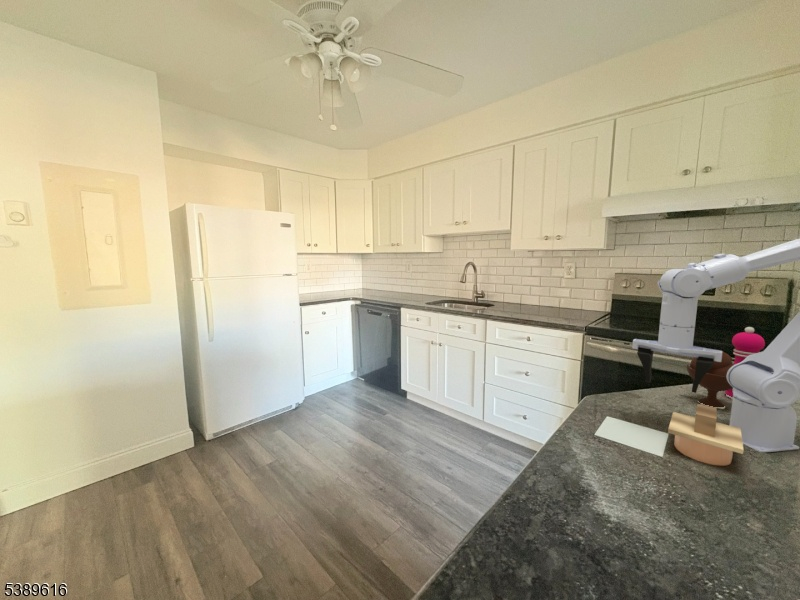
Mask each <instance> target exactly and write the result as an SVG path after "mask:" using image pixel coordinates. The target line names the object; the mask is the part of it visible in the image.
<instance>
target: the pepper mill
mask: <svg viewBox="0 0 800 600" xmlns="http://www.w3.org/2000/svg"><path fill="white" fill-rule="evenodd" d="M754 332H755V328H754V327H752V326H747V327H745V328H744V331H743V332H738V333H736V334H735V335H733V337H732V339H731V343H732V345H733V347H734V349H733V352H732V353H733V355H734V361H733V363H732V364H733V365H735V364H738V363H740V362H742V361H743V360H744V359H745V358H746V357H747V356H749V355H752V354H756V353H759V352H761V350H763V349H764V348H765V346H766V342H765V339H764V338H763V337H762V336H761V335H759V334H758V333H754ZM732 391H733V389H730V390H726V391H724V394H725V393H726V394H727V395H729V396H731V397H733V392H732Z"/></svg>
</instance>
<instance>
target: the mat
mask: <svg viewBox="0 0 800 600" xmlns="http://www.w3.org/2000/svg"><path fill="white" fill-rule="evenodd" d="M669 435H670V433H668V432H664V431H660V430H658V429H653V428H650V427H647V426H643V425H641V424H640V425H639V424H636V423H633V422H628V421H626V420H622V419H619V418H614V417H611V416H606V417H605V419H604V420H603V421H602V423H601V425H600V426H599V427H598V429H597V430H596V431H595V433H594V436H597V437H599V438H603V439H606V440H609V441H612V442H615V443H618V444H622V445H625V446H628V447H631V448H634V449H637V450H639V451H643V452H646V453H649V454H652V455H655V456H658V457H662V458H663V456H664V453H665V449H666V445H667V441H668V439H669Z"/></svg>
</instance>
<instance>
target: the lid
mask: <svg viewBox="0 0 800 600" xmlns="http://www.w3.org/2000/svg"><path fill="white" fill-rule="evenodd" d="M717 410H718V409H717V408H714V407H710V406H705V405H701V404H698V403H697V405H696V411H695V416H693V415H688V414H684V413H680V412H676V411H673V412H672V415H671V418H670V422H669V425H668V429H667V433H668V434H669V435H670V434H671V435H674V436H675V435H677V436H681V437H684V438H688V439H691V440H695V441H698V442H702V443H706V444H709V445H713V446H716V447H720V448H723V449H727V450H730V451H733V453H738V454H741V455H743V454H744V450H745V449H744V444H743V442H742V435H741V428H738V427H734V426H730V425H728V424H725V423H721V422H717V420H718V419H717V418H718V413H717Z"/></svg>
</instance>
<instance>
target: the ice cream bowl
mask: <svg viewBox="0 0 800 600" xmlns="http://www.w3.org/2000/svg"><path fill="white" fill-rule="evenodd" d="M718 350H719V351H722V360H721V362H717V361H713V366H712V367H711V368H710V369H709V370H708V372H707V373H706V374H705V375H704V377H703V378H702V380H701V382H700V383H699V386H700V387H702V388H704V389H706V391H707V396H706V397H702V398H698V399H697V400H698V401H699V402H700V403H703V404H705V405H709V406H713V407H724V406H726V405H725V404H724V403H723V402H722V401H720V400H719V399H717V396H718V393H719V392H725V391H726V390H730V389H733V387H732V386H731V385H730V384H729V383H728V381H727V377H726V376H727V372H728V370H729V369H730V368H731V367H732V366H733V364H734V363H733V358H732V357H731V355H729V354H728V353H726V352H725V351H723V350H720V349H718ZM696 361H697V358H696V357H692V359H691V361H690V363H689V364H686V371H687V373H688V375H689V376H690V377H691V378H692V380H693V381H694V377H695V370H696Z"/></svg>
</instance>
